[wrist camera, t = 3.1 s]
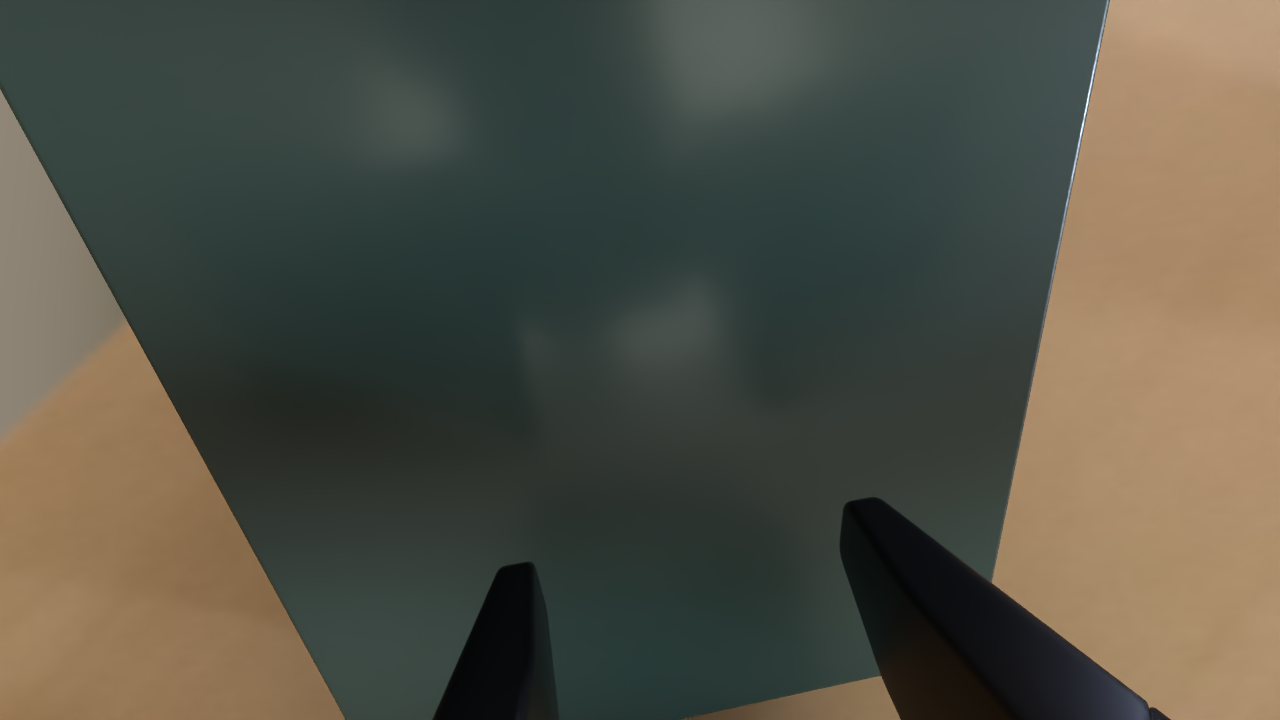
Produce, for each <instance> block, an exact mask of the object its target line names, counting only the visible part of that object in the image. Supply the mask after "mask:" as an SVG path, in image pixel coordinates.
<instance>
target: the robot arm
mask: <svg viewBox="0 0 1280 720" xmlns="http://www.w3.org/2000/svg"><path fill="white" fill-rule="evenodd" d="M839 548H840V555H841V560H842V563H843V566H844V569H845V572H846V575H847V578H848V581H849V584H850V587H851V590H852V593H853V595H854V598H855V601H856V604H857V607H858V610H859V613H860V616H861V619H862V622H863V625H864V628H865V631H866V634H867V637H868V639H869V642H870V645H871V648H872V651H873V654H874V657H875V660H876V663H877V665H878V668H879V671H880V674H881V676H882V679H883V681H884V683H885V686H886V688H887V690H888V693H889V695H890V697H891V699H892V701H893V704H894V706H895V708H896V710H897V712H898V714H899V716H900V718H901V720H1170V719H1169V718H1168V717H1167V716H1165V715H1164V714H1163V713H1161V712H1160V711H1159V710H1157V709H1156V708H1153V707H1151V708H1149V707H1148V704H1147V702H1146V701H1145V700H1144V699H1143V698H1141V697H1140V696H1139V695H1137V694H1136V693H1135V692H1133V691H1132V690H1131V689H1129V688H1128V687H1127V686H1126V685H1124V684H1123V683H1122V682H1120V681H1119V680H1118V679H1116V678H1115V677H1114V676H1112V675H1111V674H1110V673H1109V672H1107V671H1106V670H1105V669H1103V668H1102V667H1101V666H1099V665H1098V664H1097V663H1095V662H1094V661H1093V660H1092V659H1090V658H1089V657H1088V656H1086V655H1085V654H1084V653H1082V652H1081V651H1080V650H1078V649H1077V648H1076V647H1075V646H1073V645H1072V644H1071V643H1069V642H1068V641H1067V640H1065V639H1064V638H1063V637H1061V636H1060V635H1059V634H1058V633H1056V632H1055V631H1054V630H1052V629H1051V628H1050V627H1048V626H1047V625H1046V624H1044V623H1043V622H1042V621H1041V620H1039V619H1038V618H1037V617H1035V616H1034V615H1033V614H1031V613H1030V612H1029V611H1027V610H1026V609H1025V608H1024V607H1022V606H1021V605H1020V604H1018V603H1017V602H1016V601H1014V600H1013V599H1012V598H1010V597H1009V596H1008V595H1007V594H1005V593H1004V592H1003V591H1001V590H1000V589H999V588H997V587H996V586H995V585H993V584H992V583H991V582H990V581H988V580H987V579H986V578H984V577H983V576H982V575H980V574H979V573H978V572H976V571H975V570H974V569H973V568H971V567H970V566H969V565H967V564H966V563H965V562H963V561H962V560H961V559H959V558H958V557H957V556H956V555H954V554H953V553H952V552H950V551H949V550H948V549H946V548H945V547H944V546H942V545H941V544H940V543H939V542H937V541H936V540H935V539H933V538H932V537H931V536H929V535H928V534H927V533H925V532H924V531H923V530H922V529H920V528H919V527H918V526H916V525H915V524H914V523H912V522H911V521H910V520H908V519H907V518H906V517H905V516H903V515H902V514H901V513H899V512H898V511H897V510H895V509H894V508H893V507H891V506H890V505H889V504H888V503H886V502H885V501H883V500H882V499H880V498H877V497H868V498H863V499H857V500H852V501H849V502H847V503H846V504H845V506H844V508H843V515H842V524H841V533H840V543H839ZM432 720H559V713H558V704H557V695H556V686H555V677H554V668H553V659H552V650H551V641H550V632H549V623H548V615H547V609H546V604H545V600H544V596H543V593H542V589H541V585H540V582H539V578H538V575H537V571H536V568H535V565H534V564H533V563H532V562H522V563H516V564H511V565H506V566H503V567H501V568H500V569H499V570H498V572H497V573H496V575H495V577H494V580H493V582H492V584H491V587H490V589H489V591H488V593H487V596H486V598H485V600H484V603H483V605H482V607H481V609H480V612H479V614H478V616H477V618H476V621H475V623H474V625H473V628H472V630H471V632H470V634H469V637H468V639H467V641H466V644H465V646H464V648H463V650H462V653H461V655H460V657H459V659H458V662H457V664H456V666H455V669H454V671H453V673H452V675H451V678H450V680H449V682H448V685H447V687H446V689H445V691H444V694H443V696H442V698H441V701H440V703H439V705H438V707H437V710H436V712H435V714H434V716H433V719H432Z"/></svg>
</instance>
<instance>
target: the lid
mask: <svg viewBox="0 0 1280 720" xmlns="http://www.w3.org/2000/svg"><path fill="white" fill-rule="evenodd" d="M1109 2H1110V0H0V89H1V91H2V93H3V95H4V97H5V98H6V100H7V102H8V104H9V106H10V108H11V109H12V111H13V113H14V115H15V117H16V119H17V120H18V122H19V124H20V126H21V127H22V130H23V131H24V133H25V135H26V137H27V138H28V140H29V142H30V144H31V146H32V148H33V150H34V151H35V153H36V155H37V157H38V159H39V161H40V162H41V164H42V166H43V168H44V170H45V171H46V173H47V175H48V177H49V179H50V181H51V182H52V184H53V186H54V188H55V190H56V191H57V193H58V195H59V197H60V199H61V201H62V203H63V204H64V206H65V208H66V210H67V212H68V213H69V215H70V217H71V219H72V221H73V223H74V224H75V226H76V228H77V230H78V232H79V234H80V235H81V237H82V239H83V241H84V243H85V244H86V246H87V248H88V250H89V252H90V254H91V255H92V257H93V259H94V261H95V263H96V265H97V266H98V268H99V270H100V272H101V274H102V275H103V277H104V279H105V281H106V283H107V284H108V286H109V288H110V290H111V292H112V294H113V296H114V297H115V299H116V301H117V303H118V305H119V307H120V308H121V310H122V312H123V314H124V316H125V318H126V319H127V321H128V323H129V325H130V327H131V328H132V330H133V332H134V334H135V336H136V338H137V339H138V341H139V343H140V345H141V347H142V349H143V350H144V352H145V354H146V356H147V358H148V360H149V361H150V363H151V365H152V367H153V369H154V370H155V372H156V374H157V376H158V378H159V380H160V381H161V383H162V385H163V387H164V389H165V391H166V392H167V394H168V396H169V398H170V400H171V402H172V403H173V405H174V407H175V409H176V411H177V412H178V414H179V416H180V418H181V420H182V422H183V423H184V425H185V427H186V429H187V431H188V433H189V434H190V436H191V438H192V440H193V442H194V444H195V445H196V447H197V449H198V451H199V453H200V454H201V456H202V458H203V460H204V462H205V464H206V465H207V467H208V469H209V471H210V473H211V475H212V476H213V478H214V480H215V482H216V484H217V485H218V487H219V489H220V491H221V493H222V495H223V496H224V498H225V500H226V502H227V504H228V506H229V507H230V509H231V511H232V513H233V515H234V517H235V518H236V520H237V522H238V524H239V526H240V527H241V529H242V531H243V533H244V535H245V537H246V538H247V540H248V542H249V544H250V546H251V548H252V549H253V551H254V553H255V555H256V557H257V559H258V560H259V562H260V564H261V566H262V568H263V569H264V571H265V573H266V575H267V577H268V579H269V580H270V582H271V584H272V586H273V588H274V590H275V591H276V593H277V595H278V597H279V599H280V601H281V602H282V604H283V606H284V608H285V610H286V611H287V613H288V615H289V617H290V619H291V621H292V622H293V624H294V626H295V628H296V630H297V632H298V633H299V635H300V637H301V639H302V641H303V642H304V644H305V646H306V648H307V650H308V652H309V653H310V655H311V657H312V659H313V661H314V663H315V664H316V666H317V668H318V670H319V672H320V674H321V675H322V677H323V679H324V681H325V683H326V684H327V686H328V688H329V690H330V692H331V694H332V695H333V697H334V699H335V701H336V703H337V705H338V706H339V708H340V710H341V712H342V714H343V716H344V717H345V719H346V720H432V719H433V716H434V714H435V712H436V710H437V707H438V705H439V703H440V701H441V698H442V696H443V694H444V691H445V689H446V687H447V685H448V682H449V680H450V678H451V675H452V673H453V671H454V669H455V666H456V664H457V662H458V659H459V657H460V655H461V653H462V650H463V648H464V646H465V644H466V641H467V639H468V637H469V634H470V632H471V630H472V628H473V625H474V623H475V621H476V618H477V616H478V614H479V612H480V609H481V607H482V605H483V603H484V600H485V598H486V596H487V593H488V591H489V589H490V587H491V584H492V582H493V580H494V577H495V575H496V573H497V572H498V570H499V569H500V568H501V567H503V566H506V565H511V564H516V563H522V562H532V563H533V564H534V565H535V568H536V571H537V575H538V578H539V582H540V585H541V589H542V593H543V596H544V600H545V604H546V609H547V615H548V623H549V632H550V641H551V650H552V659H553V668H554V677H555V686H556V695H557V704H558V713H559V720H679V719H684V718H689V717H693V716H698V715H702V714H707V713H712V712H716V711H721V710H725V709H730V708H735V707H739V706H744V705H748V704H753V703H757V702H762V701H767V700H771V699H776V698H780V697H785V696H790V695H794V694H799V693H803V692H808V691H813V690H817V689H822V688H826V687H831V686H836V685H840V684H845V683H849V682H854V681H859V680H863V679H868V678H872V677H877V676H881V674H880V671H879V668H878V665H877V663H876V660H875V657H874V654H873V651H872V648H871V645H870V642H869V639H868V637H867V634H866V631H865V628H864V625H863V622H862V619H861V616H860V613H859V610H858V607H857V604H856V601H855V598H854V595H853V593H852V590H851V587H850V584H849V581H848V578H847V575H846V572H845V569H844V566H843V563H842V560H841V555H840V548H839V543H840V533H841V524H842V515H843V508H844V506H845V504H846V503H847V502H849V501H852V500H857V499H863V498H868V497H877V498H880V499H882V500H883V501H885V502H886V503H888V504H889V505H890V506H891V507H893V508H894V509H895V510H897V511H898V512H899V513H901V514H902V515H903V516H905V517H906V518H907V519H908V520H910V521H911V522H912V523H914V524H915V525H916V526H918V527H919V528H920V529H922V530H923V531H924V532H925V533H927V534H928V535H929V536H931V537H932V538H933V539H935V540H936V541H937V542H939V543H940V544H941V545H942V546H944V547H945V548H946V549H948V550H949V551H950V552H952V553H953V554H954V555H956V556H957V557H958V558H959V559H961V560H962V561H963V562H965V563H966V564H967V565H969V566H970V567H971V568H973V569H974V570H975V571H976V572H978V573H979V574H980V575H982V576H983V577H984V578H986V579H987V580H988V581H990V582H991V583H992V578H993V573H994V568H995V563H996V559H997V554H998V549H999V544H1000V539H1001V534H1002V529H1003V524H1004V519H1005V514H1006V509H1007V504H1008V499H1009V495H1010V490H1011V485H1012V480H1013V475H1014V470H1015V465H1016V460H1017V455H1018V450H1019V445H1020V440H1021V435H1022V431H1023V426H1024V421H1025V416H1026V411H1027V406H1028V401H1029V396H1030V391H1031V386H1032V381H1033V376H1034V371H1035V367H1036V362H1037V357H1038V352H1039V347H1040V342H1041V337H1042V332H1043V327H1044V322H1045V317H1046V312H1047V307H1048V303H1049V298H1050V293H1051V288H1052V283H1053V278H1054V273H1055V268H1056V263H1057V258H1058V253H1059V248H1060V243H1061V239H1062V234H1063V229H1064V224H1065V219H1066V214H1067V209H1068V204H1069V199H1070V194H1071V189H1072V184H1073V179H1074V175H1075V170H1076V165H1077V160H1078V155H1079V150H1080V145H1081V140H1082V135H1083V130H1084V125H1085V120H1086V115H1087V111H1088V106H1089V101H1090V96H1091V91H1092V86H1093V81H1094V76H1095V71H1096V66H1097V61H1098V56H1099V51H1100V47H1101V42H1102V37H1103V32H1104V27H1105V22H1106V17H1107V12H1108V7H1109Z"/></svg>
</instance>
